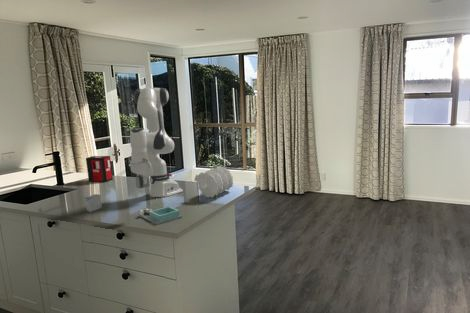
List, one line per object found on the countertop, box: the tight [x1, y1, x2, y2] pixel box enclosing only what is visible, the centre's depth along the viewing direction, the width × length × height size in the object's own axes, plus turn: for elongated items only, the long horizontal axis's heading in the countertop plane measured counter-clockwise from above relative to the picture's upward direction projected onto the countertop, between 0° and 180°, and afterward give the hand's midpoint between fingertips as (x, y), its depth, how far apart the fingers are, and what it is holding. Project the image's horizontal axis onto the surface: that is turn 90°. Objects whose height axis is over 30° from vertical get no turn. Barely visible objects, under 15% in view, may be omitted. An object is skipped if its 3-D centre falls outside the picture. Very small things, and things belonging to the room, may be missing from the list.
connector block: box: [135, 175, 151, 189], centre depth 198 cm, size 6×4×6 cm
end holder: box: [149, 205, 181, 221], centre depth 196 cm, size 12×11×3 cm
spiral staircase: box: [194, 165, 234, 199], centre depth 237 cm, size 18×18×25 cm
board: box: [138, 208, 183, 226], centre depth 199 cm, size 15×21×4 cm
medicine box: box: [84, 193, 103, 213], centre depth 219 cm, size 8×4×9 cm, turn 150°
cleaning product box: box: [85, 155, 114, 183], centre depth 297 cm, size 16×9×20 cm, turn 77°
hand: (142, 182), depth 199 cm, fingers closed on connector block, 4 cm apart
